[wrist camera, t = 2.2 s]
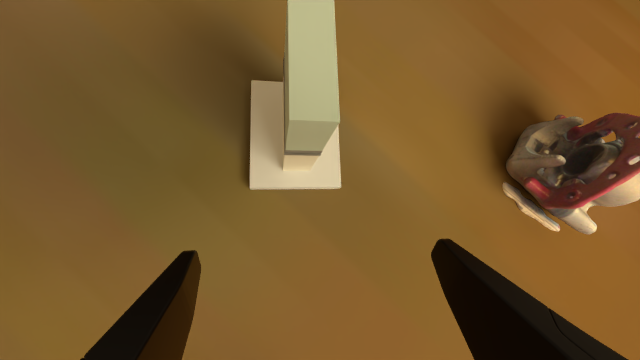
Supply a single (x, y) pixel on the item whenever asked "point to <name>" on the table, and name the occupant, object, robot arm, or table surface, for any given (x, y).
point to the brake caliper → (576, 168)
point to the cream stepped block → (269, 147)
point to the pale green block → (310, 75)
